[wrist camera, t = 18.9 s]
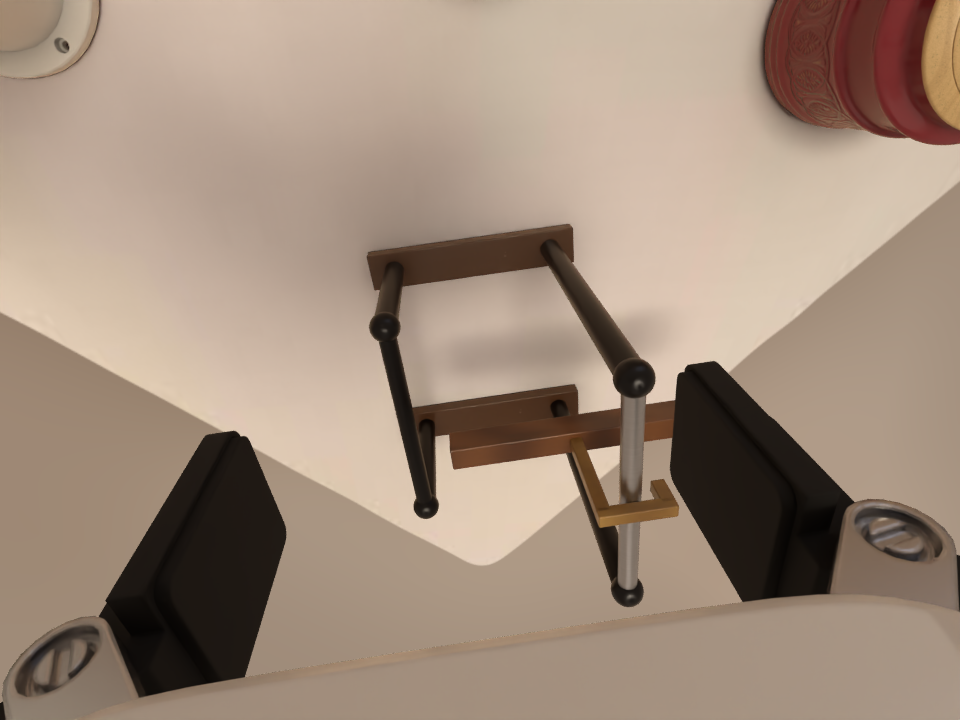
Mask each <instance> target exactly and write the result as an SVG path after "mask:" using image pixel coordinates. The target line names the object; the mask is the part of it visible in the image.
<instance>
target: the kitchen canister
mask: <svg viewBox="0 0 960 720" xmlns="http://www.w3.org/2000/svg"><path fill="white" fill-rule="evenodd" d="M765 68H766V74H767V78H768V82H769V85H770V87H771V89H772V92H773V94H774V95H775V97H776V99H777V100H778V101H779V103H780V104H781V105H782V106H783V107H784V108H785V109H786V110H787V111H789V112H790V113H792V114H793V115H795V116H797V117H798V118H799V119H801V120H803V121H805V122H807V123H810V124H813V125H816V126H821V127H826V128H834V129H842V128H851V129H857V130H864V131H868V132H871V133H873V134H876V135H879V136H883V137H888V138H911V139H913V140H915V141H919V142H922V143H926V144H932V145H954V144H960V0H777V2H776V5H775V7H774V9H773V12H772V15H771V18H770V22H769V25H768V29H767V35H766V41H765Z"/></svg>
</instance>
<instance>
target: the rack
mask: <svg viewBox="0 0 960 720" xmlns="http://www.w3.org/2000/svg"><path fill="white" fill-rule="evenodd" d="M367 260H368V264H369V269H370V273H371V277H372V282H373V286H374V290H380V293H379V298H378V303H377V307H376V312H375V316H374V317H373V318H372V319H371V321H370V325H369V329H370V333H371V335H372V336H373V338H374V339H376V340H377V341H379V344H380V349H381V353H382V357H383V361H384V365H385V369H386V373H387V378H388V382H389V386H390V390H391V394H392V398H393V402H394V407H395V411H396V415H397V419H398V423H399V427H400V432H401V436H402V440H403V444H404V448H405V452H406V456H407V461H408V465H409V469H410V473H411V477H412V481H413V486H414V490H415V494H416V499H415V501H414V511H415V513H416V514H417V515H418V516H419V517H420V518H423V519H429V518H431V517H433V516H434V515H435V514H436V513H437V511H438V508H439V503H438V500H437V498H436V455H435V436H441V435H448V434H450V433H453V432H460V431H467V430H473V429H480V428H487V427H494V426H501V425H508V424H515V423H522V422H529V421H535V420H542V419H549V418H556V417H563V416H570V415H577V414H579V413H578V390H577V388H576V386H575V385H567V386H560V387H554V388H547V389H540V390H533V391H526V392H519V393H512V394H505V395H499V396H492V397H485V398H478V399H471V400H464V401H457V402H450V403H443V404H437V405H430V406H423V407H416V408H412V404H411V399H410V395H409V390H408V386H407V381H406V377H405V372H404V368H403V363H402V359H401V354H400V350H399V345H398V341H397V336H398V335H399V333H400V329H401V326H400V322H399V320H398V319H399V311H400V303H401V295H402V287H403V286H410V285H417V284H424V283H431V282H438V281H445V280H452V279H459V278H466V277H473V276H480V275H487V274H494V273H501V272H508V271H516V270H523V269H530V268H537V267H544V266H549V268H550V269H551V271H552V273H553V274H554V276H555V278H556V279H557V281H558V283H559V285H560V286H561V288H562V290H563V291H564V293H565V295H566V296H567V298H568V300H569V302H570V303H571V305H572V307H573V308H574V310H575V312H576V313H577V315H578V317H579V319H580V320H581V322H582V324H583V325H584V327H585V329H586V330H587V332H588V334H589V336H590V337H591V339H592V341H593V342H594V344H595V346H596V347H597V349H598V351H599V353H600V354H601V356H602V358H603V359H604V361H605V363H606V364H607V366H608V368H609V370H610V371H611V373H612V375H613V383H614V386H615V388H616V389H617V391H618V392H619V393H620V394H621V420H620V479H619V481H620V482H619V504H625V503H632V502H639V501H641V494H642V472H643V471H642V470H643V450H644V429H645V407H646V395H647V394H648V393H650V391H651V390H652V389H653V387H654V384H655V372H654V370H653V368H652V366H651V365H650V364H649V363H648V362H646V361H645V360H643V359H641V358H640V357H639V356H638V354H637V353H636V351H635V350H634V349H633V347H632V346H631V344H630V343H629V342H628V340H627V339H626V337H625V336H624V335H623V333H622V332H621V330H620V329H619V328H618V326H617V325H616V323H615V322H614V321H613V319H612V318H611V316H610V315H609V314H608V312H607V311H606V309H605V308H604V307H603V305H602V304H601V302H600V301H599V300H598V298H597V297H596V295H595V294H594V293H593V291H592V290H591V288H590V287H589V286H588V284H587V283H586V282H585V280H584V279H583V277H582V276H581V275H580V273H579V272H578V270H577V269H576V268H575V266H574V265H573V263H572V262H574V250H573V228H572V226H571V225H570V224H566V225H559V226H552V227H544V228H537V229H530V230H523V231H516V232H509V233H502V234H495V235H488V236H480V237H473V238H466V239H459V240H452V241H445V242H438V243H431V244H424V245H417V246H409V247H402V248H395V249H388V250H381V251H374V252H368V255H367ZM566 455H567V457H568V460H569V463H570V466H571V469H572V472H573V475H574V477H575V480H576V483H577V486H578V489H579V492H580V495H581V497H582V500H583V503H584V506H585V509H586V512H587V515H588V517H589V520H590V523H591V526H592V528H593V531H594V535H595V537H596V540H597V543H598V546H599V549H600V551H601V555H602V557H603V560H604V563H605V566H606V569H607V572H608V575H609V577H610V580H611V583H612V584H611V592H612V595H613V597H614V599H615V600H616V601H617V602H618V603H619V604H620V605H622V606H625V607H633V606H636V605H637V604H639V603H640V601H641V600H642V598H643V593H644V591H643V586H642V583H641V582H640V581H639V579H638V559H639V537H640V522H636V523H629V524H622V525H619V533H618V532H617V529H616V527H615V526H609V527H602V528H600V527H599V526H598V523H597V520H596V518H595V515H594V512H593V509H592V506H591V504H590V501H589V498H588V495H587V493H586V490H585V487H584V484H583V482H582V479H581V476H580V473H579V471H578V468H577V465H576V462H575V460H574V457H573V454H572V452H571V453H566Z"/></svg>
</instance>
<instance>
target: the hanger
mask: <svg viewBox="0 0 960 720" xmlns="http://www.w3.org/2000/svg"><path fill="white" fill-rule="evenodd" d="M674 411H675V400H673V401H666V402H659V403H653V404H646V407H645V429H644V442H646V441H653V440H660V439H667V438H672V436H673V423H674ZM620 420H621V408H618V409H611V410H604V411H597V412H591V413H584V414H577V415H570V416H563V417H556V418H549V419H542V420H535V421H529V422H522V423H515V424H508V425H501V426H494V427H487V428H480V429H473V430H467V431H460V432H453V433H450V434H449V438H450V453H451V459H452V464H453V469H461V468H468V467H475V466H482V465H489V464H495V463H502V462H509V461H516V460H523V459H530V458H536V457H543V456H550V455H557V454H564V453H571V452H572V454H573V457H574V460H575V462H576V465H577V468H578V471H579V473H580V476H581V479H582V482H583V484H584V487H585V490H586V493H587V495H588V498H589V501H590V504H591V506H592V509H593V512H594V515H595V518H596V520H597V523H598V526H599V527H600V528H602V527H609V526H615V525H622V524H629V523H636V522H642V521H649V520H656V519H662V518H670V517H676V516H678V511H679V505H678V504H677V502H676V500H675V498H674V496H673V494H672V493H671V491H670V489H669V487H668V485H667V484H666V482H665V480H664V479H660V480H653V481H651V488H650V491H651V493H652V495H653V497H654V499H652V500H646V501H639V502H632V503H625V504H618V505H612V506H609V504H608V502H607V499H606V497H605V494H604V492H603V489H602V487H601V484H600V482H599V479H598V477H597V474H596V472H595V469H594V467H593V464H592V462H591V459H590V457H589V454H588V452H587V450H591V449H598V448H605V447H612V446H619V445H620Z"/></svg>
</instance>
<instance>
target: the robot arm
mask: <svg viewBox="0 0 960 720" xmlns="http://www.w3.org/2000/svg"><path fill="white" fill-rule="evenodd" d="M98 15H99V0H0V76H4V77H10V78H37V77H44V76H50V75H53V74H55V73H58V72H60V71H63V70H65V69H67V68H68V67H69V66H71V65H72V64H73V63H75V62H76V61H77V60H79V58H80V57H81V56H82V54H83V53H84V52H85V51H86V49H87V48H88V47H89V45H90V42H91V40H92V38H93V35H94V33H95V31H96V26H97V20H98ZM66 43H68V44H69V49H68V48H67V45H66ZM670 471H671V477H672V480H673V483H674V485H675V486H676V488H677V490H678V492H679V493H680V495H681V496H682V498H683V500H684V502H685V503H686V505H687V507H688V509H689V510H690V512H691V514H692V516H693V517H694V519H695V521H696V523H697V524H698V526H699V528H700V529H701V531H702V533H703V534H704V536H705V538H706V539H707V541H708V543H709V545H710V546H711V548H712V550H713V552H714V553H715V555H716V557H717V559H718V560H719V562H720V564H721V565H722V567H723V569H724V571H725V572H726V574H727V576H728V578H729V579H730V581H731V583H732V584H733V586H734V588H735V589H736V591H737V593H738V595H739V596H740V598H741V600H742V602H740V603H732V604H725V605H717V606H710V607H701V608H694V609H687V610H680V611H673V612H666V613H660V614H653V615H646V616H639V617H632V618H625V619H618V620H612V621H604V622H598V623H591V624H585V625H577V626H570V627H564V628H557V629H550V630H544V631H537V632H530V633H524V634H517V635H510V636H504V637H497V638H491V639H484V640H477V641H471V642H464V643H458V644H451V645H445V646H439V647H432V648H425V649H419V650H412V651H406V652H399V653H393V654H387V655H380V656H374V657H367V658H361V659H355V660H348V661H342V662H336V663H330V664H324V665H317V666H311V667H304V668H298V669H292V670H285V671H279V672H272V673H267V674H261V675H255V676H249V677H245V674H246V671H247V668H248V664H249V661H250V658H251V654H252V651H253V648H254V644H255V641H256V638H257V634H258V631H259V628H260V625H261V621H262V618H263V614H264V611H265V608H266V605H267V601H268V597H269V595H270V591H271V588H272V585H273V581H274V578H275V575H276V571H277V568H278V564H279V561H280V558H281V555H282V551H283V548H284V545H285V541H286V527H285V524H284V521H283V519H282V516H281V514H280V512H279V510H278V507H277V504H276V502H275V500H274V497H273V495H272V493H271V490H270V488H269V486H268V483H267V481H266V479H265V476H264V474H263V471H262V469H261V467H260V464H259V462H258V460H257V457H256V455H255V452H254V450H253V448H252V445H251V443H250V441H249V439H248V438H247V437H246V436H240V435H239V433H237V432H236V431H229V432H222V433H215V434H209V435H206V436H205V437H204V438H203V440H202V441H201V443H200V445H199V446H198V448H197V450H196V451H195V453H194V455H193V456H192V458H191V460H190V461H189V463H188V465H187V466H186V468H185V470H184V471H183V473H182V474H181V476H180V478H179V479H178V481H177V483H176V485H175V486H174V488H173V489H172V491H171V493H170V494H169V496H168V498H167V499H166V501H165V503H164V504H163V506H162V508H161V509H160V511H159V513H158V514H157V516H156V518H155V519H154V521H153V523H152V524H151V526H150V527H149V529H148V531H147V532H146V534H145V536H144V537H143V539H142V541H141V542H140V544H139V546H138V547H137V549H136V551H135V553H134V554H133V556H132V557H131V559H130V561H129V562H128V564H127V566H126V567H125V569H124V571H123V572H122V574H121V576H120V577H119V579H118V581H117V582H116V584H115V585H114V587H113V589H112V590H111V592H110V594H109V595H108V597H107V599H106V602H107V604H106V605H105V607H104V609H103V610H102V612H101V614H100V615H99V617H96V616H89V617H80V618H77V619H74V620H71V621H68V622H65V623H64V624H62V625H60V626H58V627H56V628H54V629H52V630H50V631H49V632H47V633H46V634H45V635H43V636H42V637H40V638H39V639H38V640H36V641H35V642H34V643H33V644H32V645H31V646H30V647H29V648H28V649H26V650H25V651H24V652H23V653H22V654H21V656H20V657H19V658H18V659H17V660H16V662H15V663H14V664H13V666H12V667H11V668H10V670H9V672H8V674H7V676H6V679H5V680H4V683H3V692H2V697H3V702H1V703H0V720H960V556H959V555H957V554H956V548H955V545H954V542H953V539H952V538H951V536H950V535H949V534H948V532H947V531H946V530H945V528H943V527H942V526H941V525H940V524H939V523H937V522H936V521H935V520H933V519H932V518H931V517H929V516H927V515H925V514H924V513H922V512H920V511H918V510H917V509H914V508H912V507H909V506H906V505H903V504H901V503H897V502H892V501H887V500H879V499H876V500H875V499H867V500H862V501H858V502H854V501H853V500H852V499H851V498H850V497H849V496H848V495H847V494H846V493H845V492H844V491H843V490H842V489H841V488H840V487H839V486H838V485H837V484H836V483H835V482H834V481H833V480H832V479H831V477H830V476H829V475H828V474H827V473H826V472H825V471H824V470H823V469H822V468H821V467H820V466H819V465H818V464H817V463H816V462H815V461H814V460H813V459H812V458H811V457H810V456H809V455H808V454H807V453H806V452H805V451H804V450H803V449H802V448H801V446H800V445H799V444H797V442H796V441H794V439H793V438H792V437H791V436H790V435H789V434H788V433H787V432H786V431H785V430H784V429H783V428H782V427H781V426H780V425H779V424H778V423H777V422H776V421H775V420H774V419H773V418H771V417H770V416H768V414H767V413H766V412H765V411H764V410H763V409H762V408H761V407H760V406H759V405H758V404H757V403H756V402H755V401H754V400H753V399H752V398H751V397H750V396H749V395H748V394H747V393H746V392H745V391H744V390H743V388H742V387H741V386H740V385H739V384H737V382H736V381H735V380H734V379H733V378H732V377H731V376H730V375H729V374H728V373H727V372H726V371H725V370H724V369H723V368H722V367H721V366H720V365H719V364H718V363H717V362H715V361H711V362H704V363H697V364H691V365H688V366H686V368H685V372H682V373H679V374H678V377H677V386H676V398H675V411H674V423H673V436H672V448H671V462H670Z"/></svg>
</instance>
